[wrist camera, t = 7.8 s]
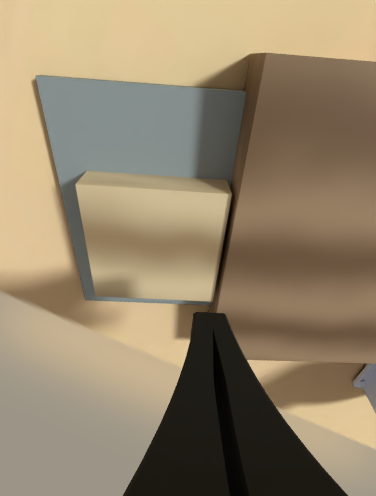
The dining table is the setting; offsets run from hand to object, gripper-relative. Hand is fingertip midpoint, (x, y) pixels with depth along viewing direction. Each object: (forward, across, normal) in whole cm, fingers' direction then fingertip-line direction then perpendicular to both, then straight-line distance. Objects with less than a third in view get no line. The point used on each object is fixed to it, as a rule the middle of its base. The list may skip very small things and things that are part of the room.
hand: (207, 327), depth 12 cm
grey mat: (+8, +4, -1) cm, 9 cm away
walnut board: (+8, -8, 0) cm, 11 cm away
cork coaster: (+7, +3, 0) cm, 8 cm away
